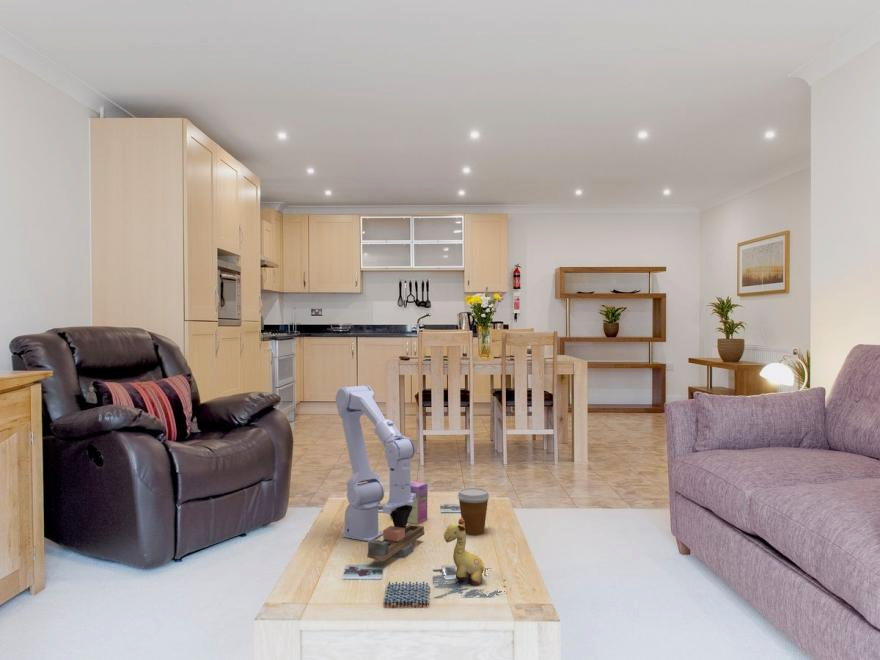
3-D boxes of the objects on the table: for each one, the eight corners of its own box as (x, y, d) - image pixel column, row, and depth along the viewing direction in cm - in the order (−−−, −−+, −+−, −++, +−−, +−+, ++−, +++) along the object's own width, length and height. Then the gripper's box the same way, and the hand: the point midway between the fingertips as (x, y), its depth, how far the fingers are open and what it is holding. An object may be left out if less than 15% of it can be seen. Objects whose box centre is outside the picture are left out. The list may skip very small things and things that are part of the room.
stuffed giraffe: (432, 570, 151) (434, 507, 151) (503, 571, 152) (505, 509, 151) (433, 601, 135) (435, 531, 135) (513, 602, 136) (515, 533, 135)
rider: (383, 544, 160) (383, 530, 160) (390, 539, 164) (390, 525, 164) (397, 546, 159) (397, 532, 159) (405, 541, 162) (404, 528, 162)
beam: (364, 564, 154) (364, 541, 155) (406, 538, 174) (406, 517, 174) (387, 569, 151) (387, 545, 151) (427, 541, 171) (427, 520, 171)
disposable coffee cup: (453, 534, 177) (452, 494, 177) (464, 525, 186) (463, 486, 186) (483, 539, 173) (483, 497, 173) (493, 528, 182) (493, 489, 182)
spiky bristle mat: (381, 610, 130) (381, 601, 130) (385, 589, 141) (385, 580, 141) (430, 610, 130) (430, 601, 130) (430, 589, 141) (430, 580, 141)
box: (428, 520, 191) (427, 482, 191) (417, 524, 186) (417, 486, 186) (401, 514, 197) (401, 478, 197) (390, 519, 192) (390, 482, 192)
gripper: (399, 491, 156) (399, 543, 156) (425, 479, 169) (425, 527, 169) (376, 488, 159) (376, 539, 159) (403, 476, 172) (403, 523, 172)
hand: (400, 533), depth 164 cm, fingers closed
